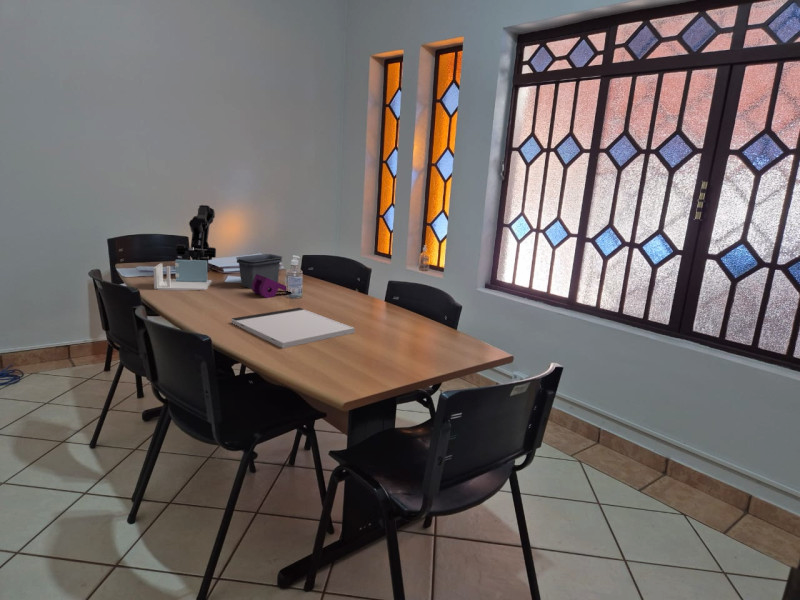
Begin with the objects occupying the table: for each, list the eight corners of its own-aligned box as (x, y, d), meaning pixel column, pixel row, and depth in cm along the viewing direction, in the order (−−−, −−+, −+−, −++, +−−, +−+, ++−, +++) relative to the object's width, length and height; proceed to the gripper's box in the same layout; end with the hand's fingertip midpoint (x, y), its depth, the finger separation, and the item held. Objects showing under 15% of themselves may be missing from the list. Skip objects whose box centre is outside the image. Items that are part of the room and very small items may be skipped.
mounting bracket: (279, 303, 256) (248, 290, 243) (286, 286, 257) (256, 273, 244) (290, 307, 250) (259, 295, 237) (297, 290, 251) (266, 277, 238)
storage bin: (250, 290, 251) (250, 261, 248) (230, 285, 260) (230, 256, 257) (285, 285, 268) (285, 257, 265) (265, 279, 277) (265, 252, 273)
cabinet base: (164, 281, 259) (163, 259, 256) (211, 282, 263) (211, 261, 261) (154, 289, 241) (153, 267, 238) (205, 290, 245) (205, 268, 243)
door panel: (177, 279, 257) (176, 259, 255) (207, 280, 260) (207, 260, 258) (175, 281, 253) (174, 261, 251) (206, 282, 256) (205, 262, 254)
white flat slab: (231, 318, 199) (300, 307, 221) (231, 324, 200) (300, 313, 222) (283, 342, 176) (354, 328, 197) (283, 349, 176) (354, 334, 198)
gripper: (216, 249, 281) (214, 274, 274) (178, 245, 275) (175, 271, 268) (216, 237, 271) (214, 264, 264) (177, 233, 266) (174, 260, 259)
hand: (194, 265), depth 264 cm, fingers closed
